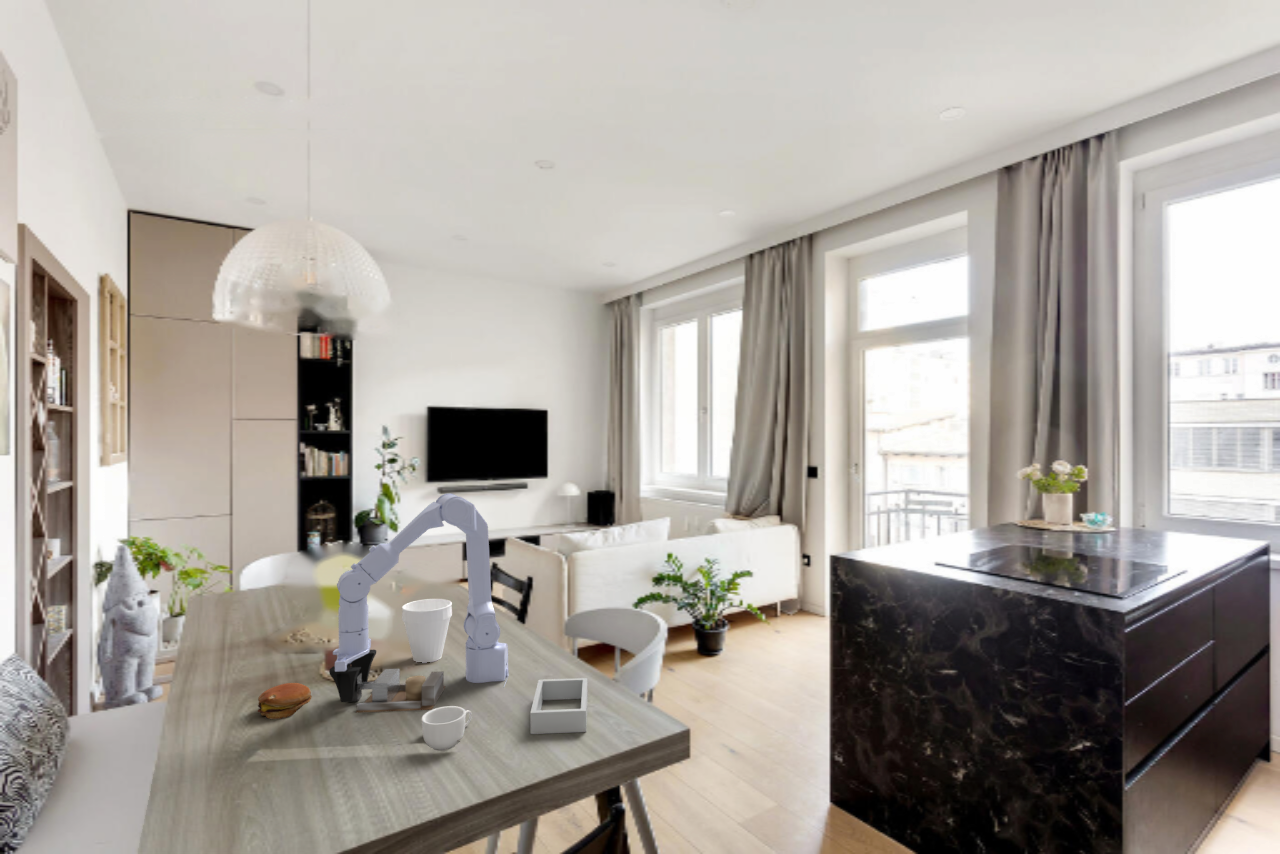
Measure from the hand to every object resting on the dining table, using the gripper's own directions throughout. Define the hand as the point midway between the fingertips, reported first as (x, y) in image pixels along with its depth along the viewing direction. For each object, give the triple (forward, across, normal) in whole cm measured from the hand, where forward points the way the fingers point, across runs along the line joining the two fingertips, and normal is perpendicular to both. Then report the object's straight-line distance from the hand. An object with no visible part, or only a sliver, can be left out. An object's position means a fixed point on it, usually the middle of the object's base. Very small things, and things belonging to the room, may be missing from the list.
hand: (354, 693), depth 134 cm
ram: (+1, 0, +3) cm, 4 cm away
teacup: (+3, +17, +24) cm, 29 cm away
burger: (+3, 0, -14) cm, 15 cm away
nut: (+1, 0, +13) cm, 13 cm away
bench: (+3, 0, +10) cm, 10 cm away
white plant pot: (+3, -29, +8) cm, 30 cm away
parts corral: (+3, +7, +44) cm, 44 cm away
